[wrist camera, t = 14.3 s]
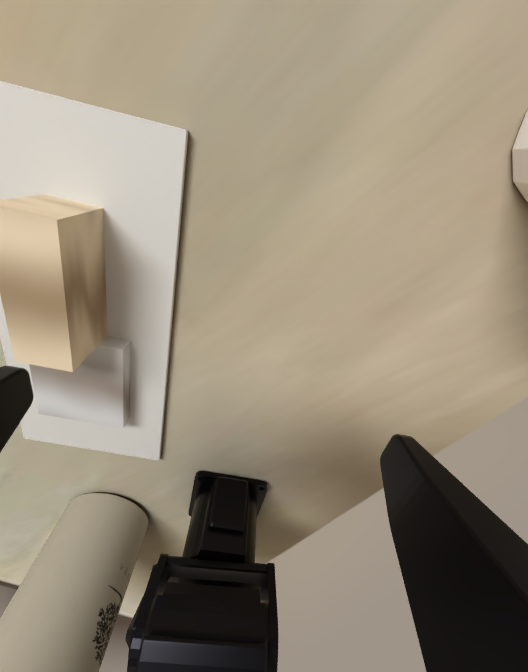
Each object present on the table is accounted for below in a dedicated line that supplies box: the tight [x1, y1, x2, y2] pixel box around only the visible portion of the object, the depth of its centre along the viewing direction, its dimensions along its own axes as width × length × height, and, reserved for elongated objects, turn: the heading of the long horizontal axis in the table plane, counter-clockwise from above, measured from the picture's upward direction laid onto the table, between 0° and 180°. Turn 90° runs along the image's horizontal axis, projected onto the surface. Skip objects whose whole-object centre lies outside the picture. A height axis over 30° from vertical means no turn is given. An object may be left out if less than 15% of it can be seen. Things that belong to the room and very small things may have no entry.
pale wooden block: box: [0, 194, 131, 428], centre depth 18 cm, size 15×6×4 cm, turn 167°
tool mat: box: [0, 81, 188, 461], centre depth 20 cm, size 24×11×1 cm, turn 167°
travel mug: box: [0, 493, 149, 672], centre depth 23 cm, size 8×8×18 cm
